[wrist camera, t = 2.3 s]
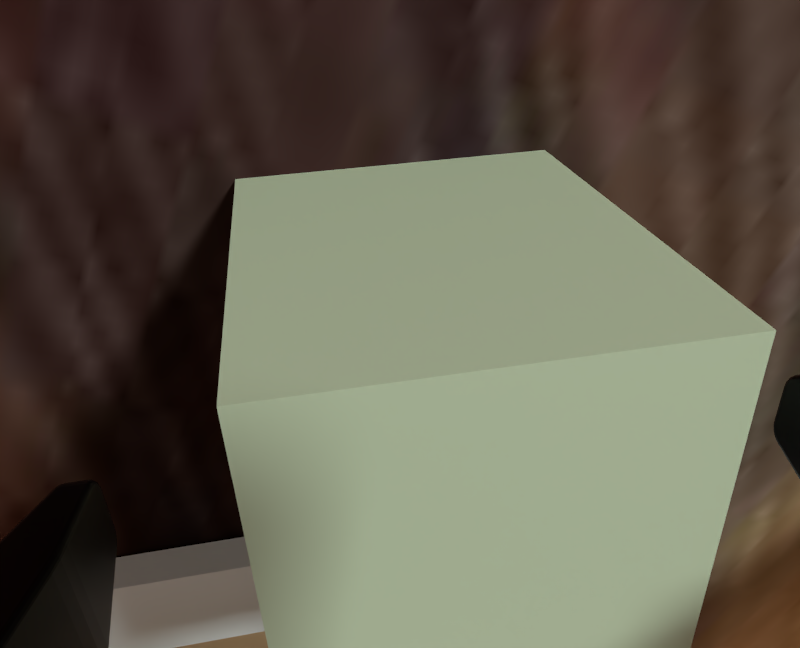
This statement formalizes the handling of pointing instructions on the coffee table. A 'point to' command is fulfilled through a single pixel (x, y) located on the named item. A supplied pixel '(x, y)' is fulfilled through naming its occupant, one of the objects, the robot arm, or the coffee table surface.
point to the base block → (235, 642)
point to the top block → (476, 409)
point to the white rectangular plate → (184, 596)
